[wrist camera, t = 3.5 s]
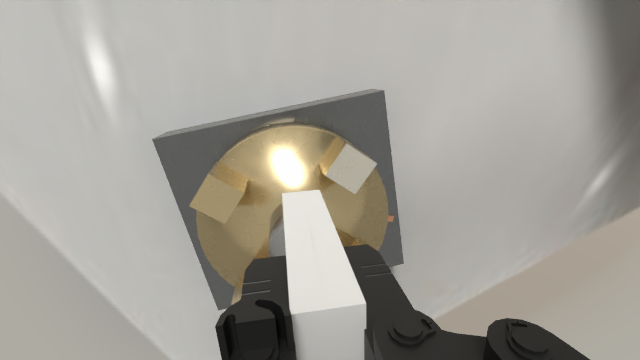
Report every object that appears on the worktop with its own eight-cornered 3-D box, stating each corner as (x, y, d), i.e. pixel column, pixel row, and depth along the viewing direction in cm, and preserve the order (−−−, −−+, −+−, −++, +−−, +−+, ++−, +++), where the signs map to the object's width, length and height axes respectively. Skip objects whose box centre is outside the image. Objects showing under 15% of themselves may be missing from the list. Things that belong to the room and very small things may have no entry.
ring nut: (177, 145, 28) (140, 170, 20) (366, 105, 29) (398, 114, 21) (233, 300, 34) (221, 364, 26) (387, 261, 35) (418, 311, 27)
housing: (167, 132, 31) (151, 139, 27) (371, 89, 33) (384, 90, 29) (224, 287, 38) (218, 311, 34) (391, 245, 39) (404, 264, 35)
